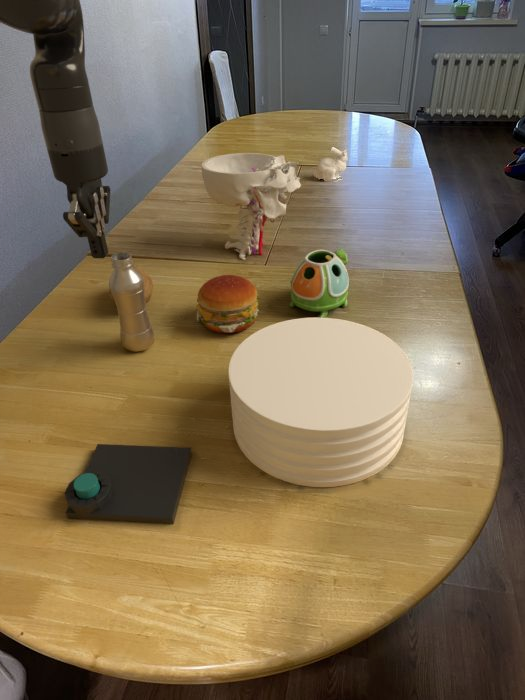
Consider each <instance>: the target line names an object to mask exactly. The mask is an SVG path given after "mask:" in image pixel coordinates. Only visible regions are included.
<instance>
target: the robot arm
mask: <svg viewBox="0 0 525 700" xmlns="http://www.w3.org/2000/svg"><path fill="white" fill-rule="evenodd" d="M0 23H1V24H3V25H5V26H7V27H9V28H12V29H14V30H16V31H20V32H22V33H26V34H30V35H32V36H33V45H34V50H35V51H34V53H35V54H34V58H33V59H32V60H31V62H30V64H29V75H30V81H31V86H32V89H33V93H34V98H35V101H36V104H37V108H38V113H39V118H40V126H41V131H42V135H43V140H44V143H45V147H46V150H47V154H48V159H49V161H50V166H51V170H52V174H53V177H54V179H55V180H56V181H58V182H60V183H63V184H64V185H65V186H66V197H67V198H66V199H67V201H68V203H69V205H70V206H69V211H64V212H63V213H62V219H63V221H64V222H65V223H66V224H67V226H69V228H71V230H72V231H73V232H74V233H75V234H76V235H77V236H78V238H87V241H88V245H89V249H90V254H91V257H92V258H93V259H101V260H102V259H105V258H107V256H108V255H109V248H108V243H107V239H106V235H105V232H106V228H107V227H106V225H107V224H109V222H110V208H111V207H110V204H111V187H110V186H109V185H103V181H102V179H103V178H105V177H106V176H107V174H108V173H109V167H108V161H107V158H106V151H105V147H104V143H103V138H102V133H101V127H100V123H99V119H98V115H97V113H96V111H95V107H94V103H93V98H92V94H91V93H92V92H91V87H90V83H89V78H88V74H87V70H86V61H85V60H86V45H85V29H84V27H85V26H84V25H85V24H84V16H83V10H82V4H81V1H80V0H0Z"/></svg>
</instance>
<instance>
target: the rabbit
mask: <svg viewBox="0 0 525 700" xmlns="http://www.w3.org/2000/svg"><path fill="white" fill-rule="evenodd" d="M330 153H331V154H334V155H337V156H336V157H334V158H331V157H323V158H321V159H320V160H319V161H318V163H317V165H316V170H314V171H313V177H314V178H315V179H317V178H321V179H324V180H325V179H326V180H330V179H336V178H339V177H341V175H342V173H345V170H346V168H347V162H348V159H349V158H348V150H347V149H344V150H339V149H338V148H336V147H334V146H332V147H331V148H330ZM339 175H340V176H339ZM318 180H320V179H318ZM342 180H343V178H342V179H338V180H337V181H324V182H327V183H337V182H338V181H342ZM320 181H321V180H320Z"/></svg>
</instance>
